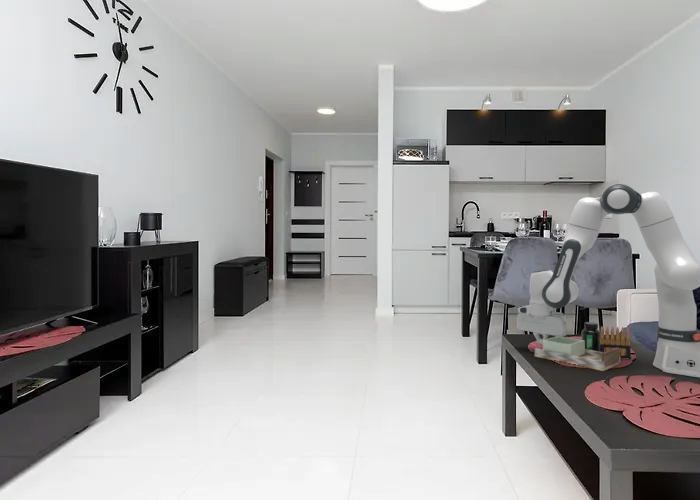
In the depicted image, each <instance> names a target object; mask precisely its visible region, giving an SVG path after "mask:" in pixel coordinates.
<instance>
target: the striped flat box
mask: <svg viewBox="0 0 700 500" xmlns="http://www.w3.org/2000/svg"><path fill="white" fill-rule="evenodd" d="M534 357H536V358H540V359H545V360H549V361H554V360H556V361H555V362H559V361H562V362H561V363H564V362H566V363H565V364H568V363H571V364H570V365H573V364H576V365H575V366H578V365H580V366H579V367H582V366H584V367H583V368H587V367H588V368H587V369H592V370H597V371H601V372H605V371H607V370H608V369H611V368H613V367H616V366H618V365H621V364H620V363H621V362H622V361H621V360H622V359H621V356H620V355H619V348H617V347H616V348H614V349H611V350H608V351H606V352H605V351H604V352H599V351H593V350H588V349H585V354H583V355H581V356H578V357H577V356H572V355H567V354H562V353H557V352H552V351H547V350H543V348H542V349H541V348H534Z"/></svg>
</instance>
